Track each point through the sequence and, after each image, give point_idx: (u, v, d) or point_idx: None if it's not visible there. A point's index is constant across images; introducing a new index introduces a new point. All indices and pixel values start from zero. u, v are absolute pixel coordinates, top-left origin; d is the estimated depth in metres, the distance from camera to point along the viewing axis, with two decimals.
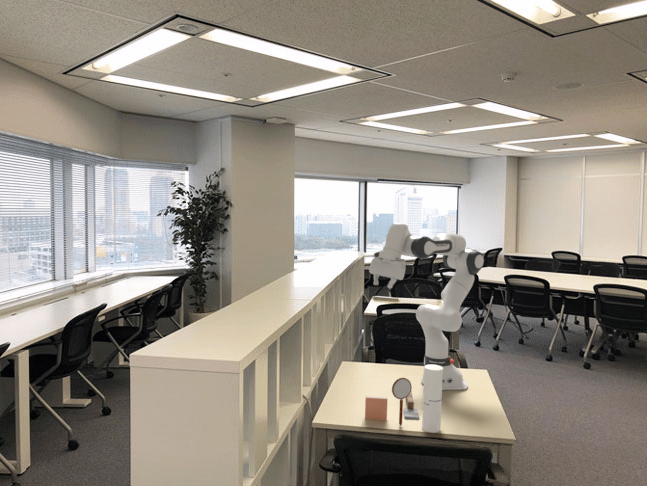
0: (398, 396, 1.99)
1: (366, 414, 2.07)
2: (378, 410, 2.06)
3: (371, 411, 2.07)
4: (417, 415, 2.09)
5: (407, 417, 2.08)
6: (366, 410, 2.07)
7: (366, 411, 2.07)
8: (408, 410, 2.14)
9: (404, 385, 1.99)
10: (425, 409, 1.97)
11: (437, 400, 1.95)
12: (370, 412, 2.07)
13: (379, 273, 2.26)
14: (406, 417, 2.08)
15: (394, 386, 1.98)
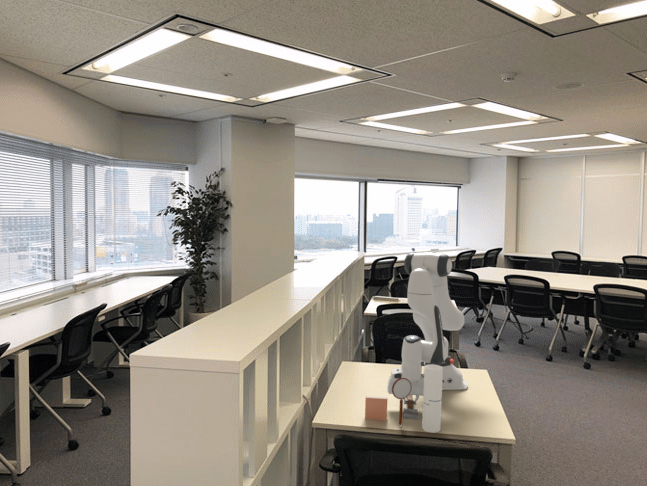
0: (398, 396, 1.99)
1: (366, 414, 2.07)
2: (378, 410, 2.06)
3: (371, 411, 2.07)
4: (417, 415, 2.09)
5: (406, 417, 2.08)
6: (366, 410, 2.07)
7: (366, 411, 2.07)
8: (408, 410, 2.14)
9: (404, 385, 1.99)
10: (425, 409, 1.97)
11: (437, 400, 1.95)
12: (370, 412, 2.07)
13: None
14: (406, 417, 2.08)
15: (394, 386, 1.98)
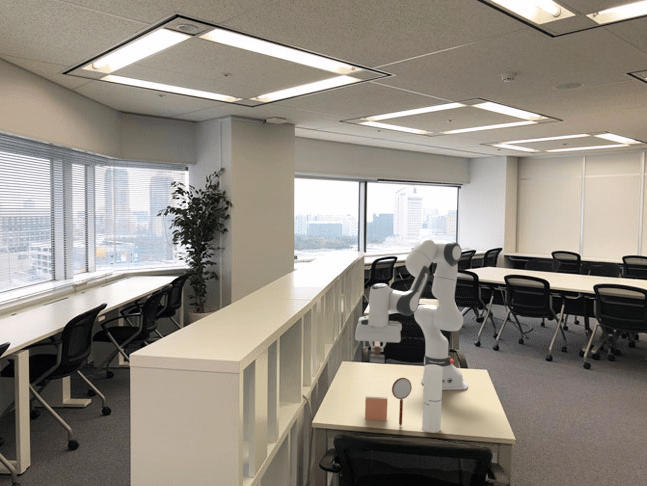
0: (398, 396, 1.99)
1: (366, 414, 2.07)
2: (378, 410, 2.06)
3: (371, 411, 2.07)
4: (383, 359, 2.12)
5: (372, 361, 2.11)
6: (366, 410, 2.07)
7: (366, 411, 2.07)
8: (374, 355, 2.17)
9: (405, 385, 1.99)
10: (425, 409, 1.97)
11: (437, 400, 1.95)
12: (370, 412, 2.07)
13: (372, 340, 2.20)
14: (372, 361, 2.11)
15: (394, 386, 1.98)
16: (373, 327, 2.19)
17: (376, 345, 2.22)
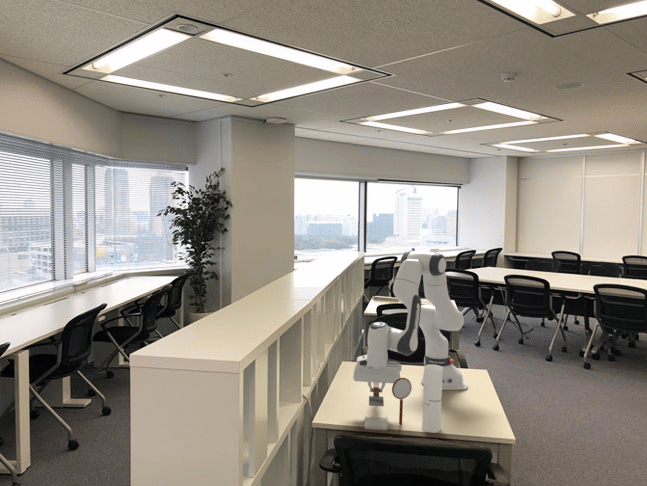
0: (398, 396, 1.99)
1: None
2: None
3: None
4: (382, 402, 2.05)
5: (371, 404, 2.04)
6: None
7: None
8: (373, 397, 2.10)
9: (404, 385, 1.99)
10: (425, 409, 1.97)
11: (437, 400, 1.95)
12: None
13: (371, 381, 2.13)
14: (370, 404, 2.04)
15: (394, 386, 1.98)
16: (372, 368, 2.12)
17: (375, 386, 2.15)
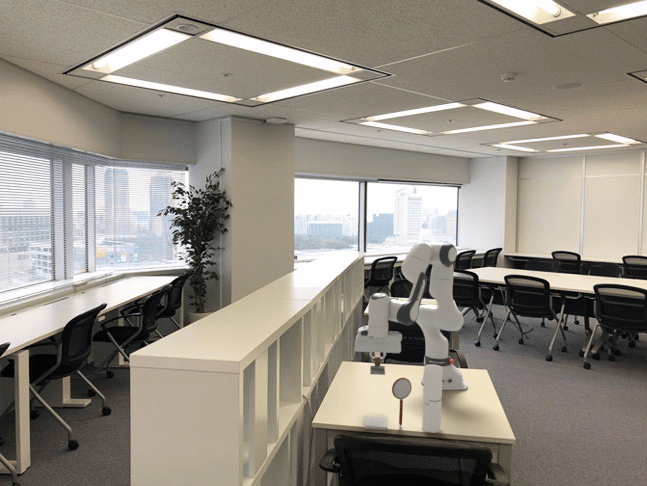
0: (398, 396, 1.99)
1: None
2: None
3: None
4: (383, 371, 2.08)
5: (372, 373, 2.07)
6: None
7: None
8: (375, 367, 2.13)
9: (404, 385, 1.99)
10: (425, 409, 1.97)
11: (437, 400, 1.95)
12: None
13: (372, 350, 2.16)
14: (372, 373, 2.07)
15: (394, 386, 1.98)
16: (373, 338, 2.15)
17: (376, 356, 2.18)
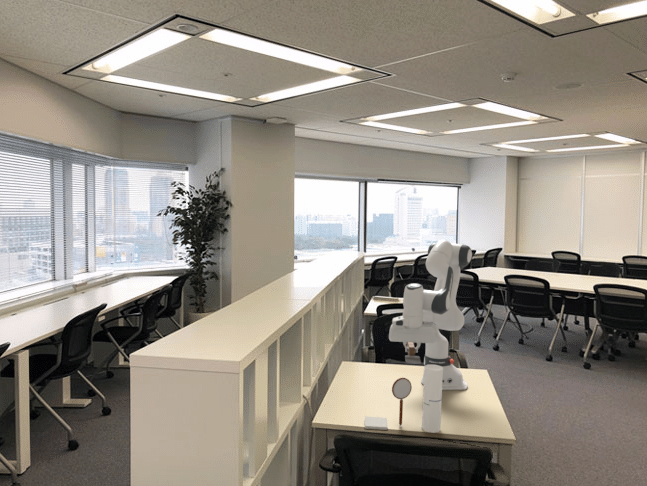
0: (398, 396, 1.99)
1: None
2: None
3: None
4: (419, 360, 2.10)
5: (408, 362, 2.09)
6: None
7: None
8: (410, 356, 2.15)
9: (405, 385, 1.99)
10: (425, 409, 1.97)
11: (437, 400, 1.95)
12: None
13: (406, 341, 2.18)
14: (408, 362, 2.09)
15: (394, 386, 1.98)
16: (408, 328, 2.17)
17: (410, 346, 2.20)
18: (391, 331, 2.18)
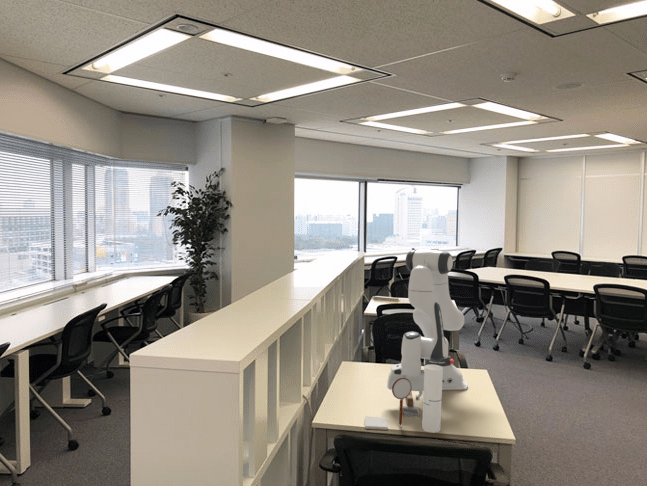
0: (398, 396, 1.99)
1: None
2: None
3: None
4: (416, 413, 2.12)
5: (406, 415, 2.11)
6: None
7: None
8: (408, 408, 2.17)
9: (404, 385, 1.99)
10: (425, 409, 1.97)
11: (437, 400, 1.95)
12: None
13: None
14: (406, 415, 2.11)
15: (394, 386, 1.98)
16: (406, 376, 2.19)
17: (408, 396, 2.22)
18: (389, 379, 2.20)
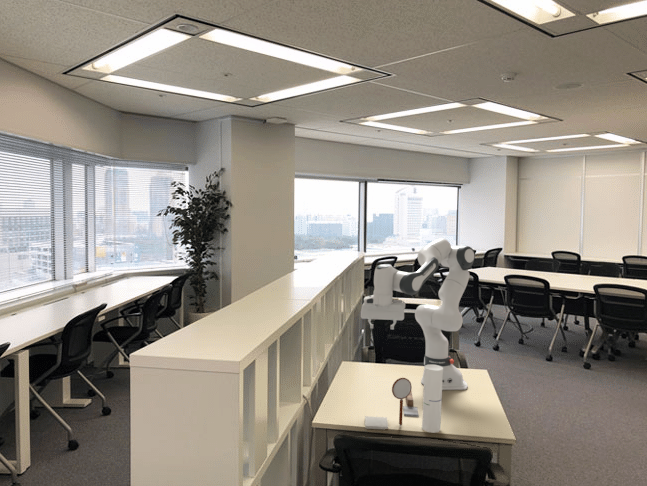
0: (398, 396, 1.99)
1: None
2: None
3: None
4: (416, 413, 2.12)
5: (406, 415, 2.11)
6: None
7: None
8: (408, 408, 2.17)
9: (405, 385, 1.99)
10: (425, 409, 1.97)
11: (437, 400, 1.95)
12: None
13: (377, 318, 2.31)
14: (406, 415, 2.11)
15: (394, 386, 1.98)
16: (378, 306, 2.30)
17: (408, 396, 2.22)
18: (362, 309, 2.31)
